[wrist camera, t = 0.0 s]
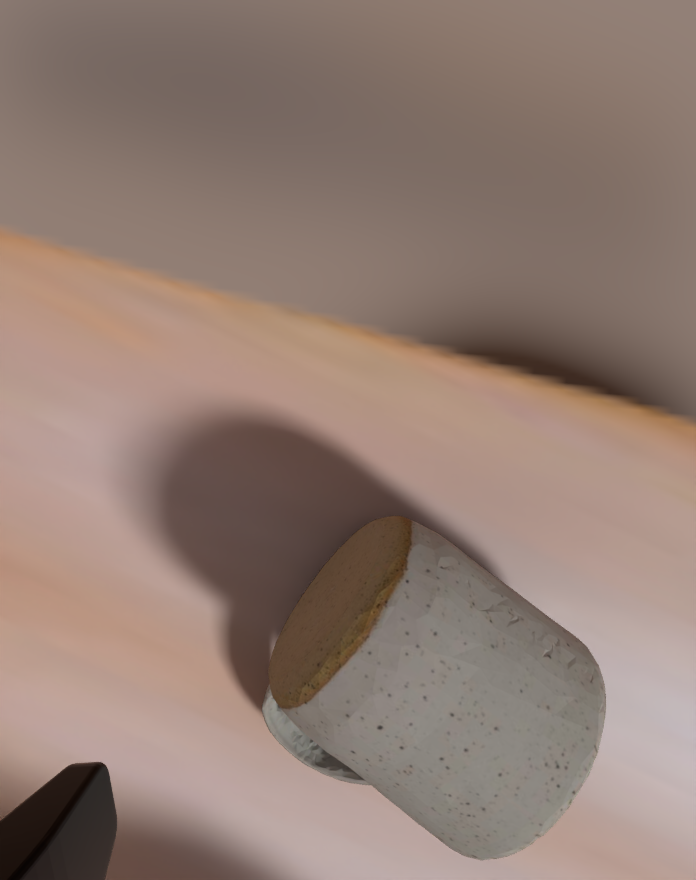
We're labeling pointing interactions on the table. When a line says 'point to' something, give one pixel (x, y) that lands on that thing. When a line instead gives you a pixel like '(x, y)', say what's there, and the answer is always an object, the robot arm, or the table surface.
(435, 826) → the ceramic mug
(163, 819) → the table surface
